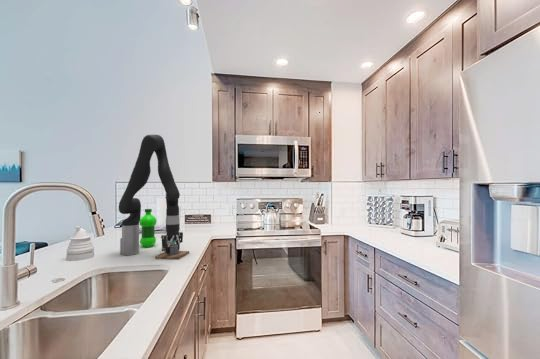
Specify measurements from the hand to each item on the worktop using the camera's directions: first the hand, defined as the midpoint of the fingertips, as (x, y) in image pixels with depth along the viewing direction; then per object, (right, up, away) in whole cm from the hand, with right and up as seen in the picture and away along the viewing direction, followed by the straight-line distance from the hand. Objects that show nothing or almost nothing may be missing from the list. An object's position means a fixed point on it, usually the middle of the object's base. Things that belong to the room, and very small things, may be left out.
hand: (172, 251), depth 156 cm
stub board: (0, -2, 0) cm, 2 cm away
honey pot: (-52, -3, -3) cm, 52 cm away
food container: (-7, -3, +17) cm, 19 cm away
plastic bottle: (-26, -3, +25) cm, 36 cm away
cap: (0, -1, 0) cm, 1 cm away
